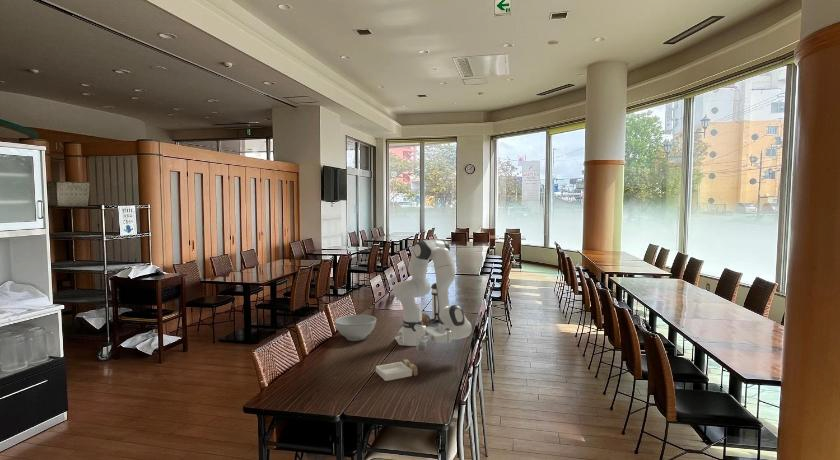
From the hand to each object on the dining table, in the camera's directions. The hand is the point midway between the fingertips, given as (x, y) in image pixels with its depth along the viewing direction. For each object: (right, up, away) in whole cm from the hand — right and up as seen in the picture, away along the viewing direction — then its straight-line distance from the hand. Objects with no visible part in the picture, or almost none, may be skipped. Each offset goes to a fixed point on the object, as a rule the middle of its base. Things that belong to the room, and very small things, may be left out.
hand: (419, 336), depth 238 cm
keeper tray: (-13, -18, -5) cm, 22 cm away
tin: (0, -13, +86) cm, 87 cm away
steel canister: (+1, -6, +1) cm, 7 cm away
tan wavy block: (-5, -17, -2) cm, 18 cm away
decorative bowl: (-41, -15, +60) cm, 74 cm away
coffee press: (+16, -11, +99) cm, 101 cm away
